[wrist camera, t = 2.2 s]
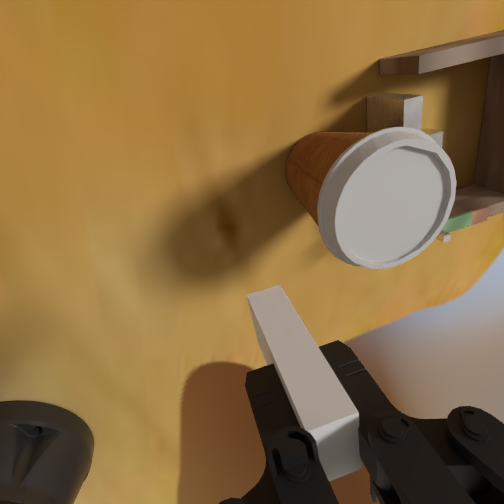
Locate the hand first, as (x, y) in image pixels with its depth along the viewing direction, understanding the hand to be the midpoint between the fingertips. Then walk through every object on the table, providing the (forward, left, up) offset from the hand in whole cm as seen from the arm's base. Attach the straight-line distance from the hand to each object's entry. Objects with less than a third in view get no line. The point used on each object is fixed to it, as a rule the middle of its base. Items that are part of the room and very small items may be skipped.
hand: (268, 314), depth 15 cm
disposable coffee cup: (+10, 0, -18) cm, 21 cm away
